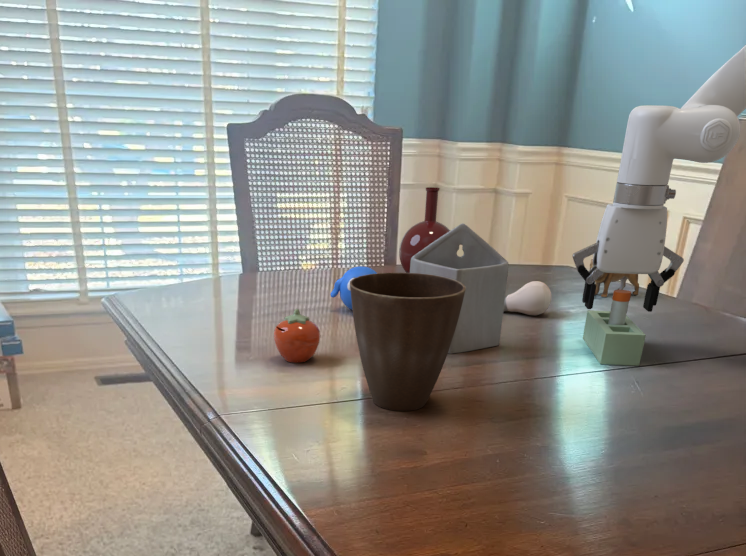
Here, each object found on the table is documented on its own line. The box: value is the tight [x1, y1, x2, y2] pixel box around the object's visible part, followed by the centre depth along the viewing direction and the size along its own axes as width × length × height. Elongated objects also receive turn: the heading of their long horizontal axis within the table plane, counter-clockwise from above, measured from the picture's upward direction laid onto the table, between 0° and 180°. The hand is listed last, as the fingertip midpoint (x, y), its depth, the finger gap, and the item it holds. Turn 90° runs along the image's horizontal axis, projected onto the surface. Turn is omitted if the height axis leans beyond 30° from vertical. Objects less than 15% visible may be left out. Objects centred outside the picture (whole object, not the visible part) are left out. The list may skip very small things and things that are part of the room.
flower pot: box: [350, 272, 466, 412], centre depth 103 cm, size 15×15×16 cm
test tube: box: [608, 289, 632, 325], centre depth 129 cm, size 3×3×10 cm
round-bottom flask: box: [398, 186, 451, 273], centre depth 174 cm, size 13×13×20 cm
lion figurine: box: [589, 258, 640, 298], centre depth 169 cm, size 15×5×9 cm, turn 117°
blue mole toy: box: [330, 265, 378, 311], centre depth 150 cm, size 12×12×8 cm
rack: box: [582, 309, 647, 367], centre depth 130 cm, size 16×6×5 cm, turn 175°
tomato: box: [273, 308, 321, 364], centre depth 122 cm, size 7×7×8 cm
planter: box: [410, 223, 510, 355], centre depth 127 cm, size 16×8×19 cm, turn 80°
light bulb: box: [503, 280, 553, 316], centre depth 153 cm, size 7×7×11 cm
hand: (617, 308), depth 128 cm, fingers open, 9 cm apart
